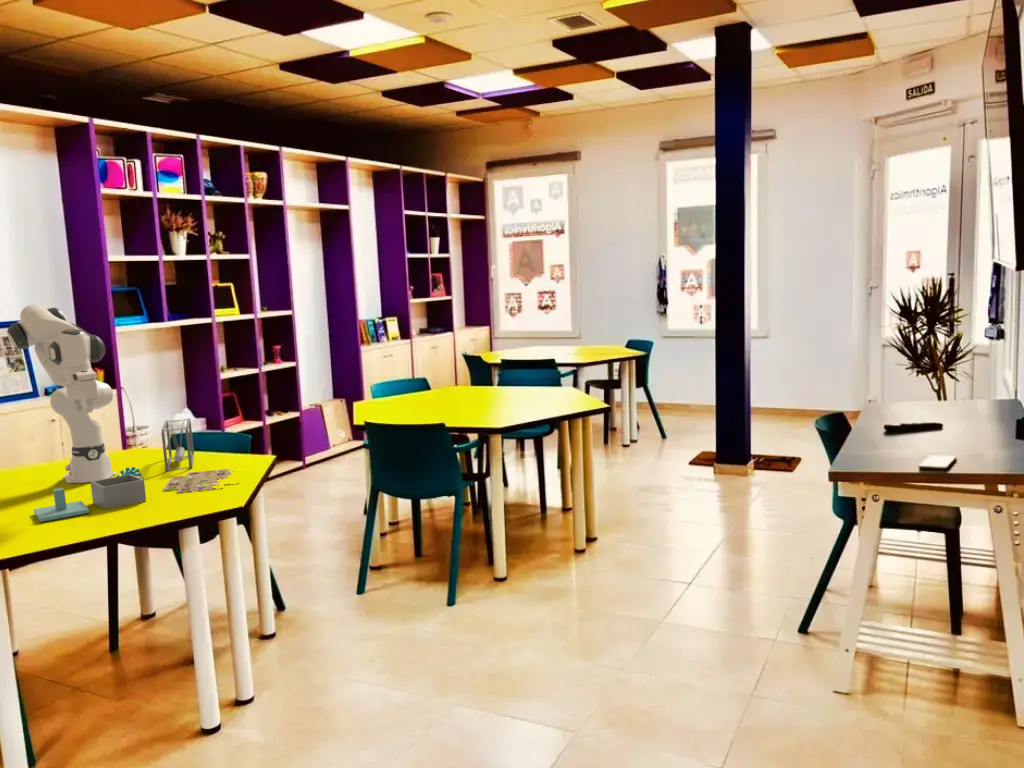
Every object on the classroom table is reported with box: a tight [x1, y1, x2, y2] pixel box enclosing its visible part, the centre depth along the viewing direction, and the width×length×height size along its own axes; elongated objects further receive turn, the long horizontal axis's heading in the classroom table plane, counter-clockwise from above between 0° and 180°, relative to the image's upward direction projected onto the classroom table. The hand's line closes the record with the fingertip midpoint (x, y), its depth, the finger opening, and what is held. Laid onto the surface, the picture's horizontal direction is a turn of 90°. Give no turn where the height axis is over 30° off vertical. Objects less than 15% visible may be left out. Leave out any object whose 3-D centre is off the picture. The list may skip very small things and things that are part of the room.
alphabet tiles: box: [162, 468, 235, 494], centre depth 332 cm, size 28×33×1 cm
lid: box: [33, 487, 90, 523], centre depth 293 cm, size 15×15×9 cm
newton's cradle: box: [161, 417, 195, 472], centre depth 367 cm, size 30×10×18 cm, turn 19°
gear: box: [115, 466, 144, 479], centre depth 329 cm, size 11×6×10 cm
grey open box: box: [90, 474, 147, 510], centre depth 306 cm, size 14×14×8 cm
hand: (84, 411), depth 309 cm, fingers open, 8 cm apart
